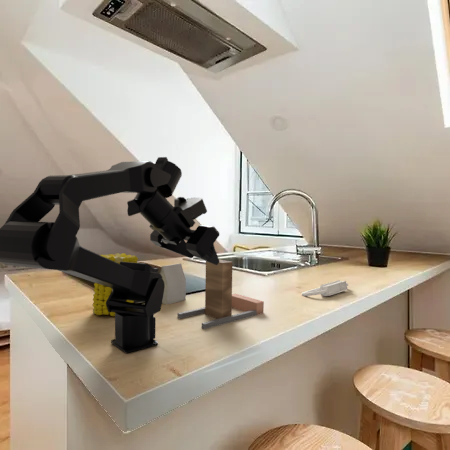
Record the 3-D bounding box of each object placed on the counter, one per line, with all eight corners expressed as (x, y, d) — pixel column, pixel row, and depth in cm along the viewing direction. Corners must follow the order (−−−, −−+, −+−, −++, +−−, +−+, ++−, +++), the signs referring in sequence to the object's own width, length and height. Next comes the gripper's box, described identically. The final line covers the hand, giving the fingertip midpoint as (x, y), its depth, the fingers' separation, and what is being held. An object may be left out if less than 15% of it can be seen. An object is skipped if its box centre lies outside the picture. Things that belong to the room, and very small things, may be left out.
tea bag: (185, 300, 99) (185, 264, 98) (167, 305, 94) (167, 267, 93) (176, 298, 101) (176, 262, 101) (157, 302, 96) (157, 265, 95)
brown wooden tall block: (221, 320, 81) (222, 263, 81) (205, 314, 86) (205, 259, 85) (231, 317, 83) (232, 261, 83) (214, 311, 88) (215, 258, 87)
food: (86, 319, 86) (126, 313, 93) (106, 319, 78) (148, 313, 84) (84, 255, 89) (122, 254, 95) (103, 249, 80) (144, 248, 87)
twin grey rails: (204, 329, 76) (204, 315, 75) (177, 318, 83) (177, 305, 83) (263, 313, 88) (263, 301, 88) (235, 304, 95) (235, 293, 95)
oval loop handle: (331, 291, 121) (329, 279, 121) (354, 289, 115) (352, 277, 115) (297, 301, 107) (295, 288, 107) (321, 300, 101) (319, 286, 101)
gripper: (211, 185, 68) (252, 236, 77) (160, 184, 83) (200, 228, 91) (177, 229, 64) (224, 279, 73) (129, 221, 78) (174, 263, 87)
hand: (204, 259), depth 81 cm, fingers open, 9 cm apart
